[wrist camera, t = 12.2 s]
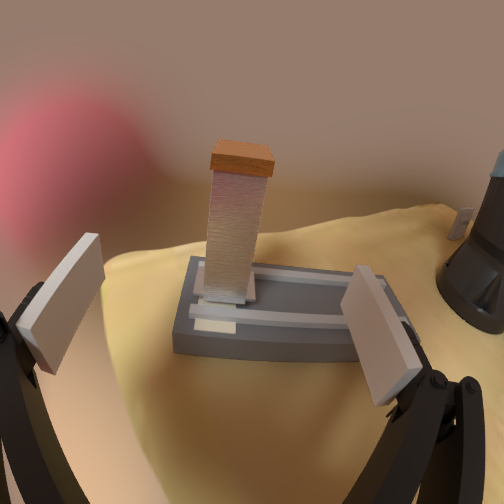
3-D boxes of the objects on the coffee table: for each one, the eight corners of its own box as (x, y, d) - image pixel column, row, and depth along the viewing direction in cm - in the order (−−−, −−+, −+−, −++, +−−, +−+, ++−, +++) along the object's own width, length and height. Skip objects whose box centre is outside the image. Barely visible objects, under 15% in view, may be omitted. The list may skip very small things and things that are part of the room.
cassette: (459, 232, 58) (470, 206, 54) (465, 236, 57) (476, 209, 53) (445, 237, 52) (457, 206, 48) (451, 241, 51) (464, 210, 47)
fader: (253, 270, 26) (275, 147, 20) (255, 307, 21) (285, 162, 16) (199, 264, 25) (210, 138, 19) (191, 300, 21) (201, 151, 15)
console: (375, 291, 31) (385, 271, 29) (408, 357, 23) (424, 336, 21) (190, 275, 29) (191, 250, 27) (173, 352, 20) (171, 326, 19)
